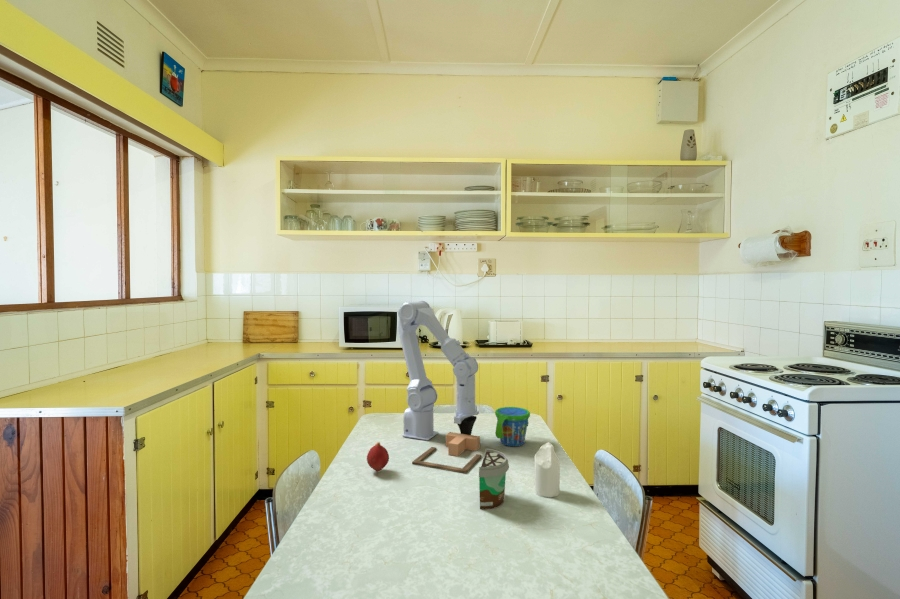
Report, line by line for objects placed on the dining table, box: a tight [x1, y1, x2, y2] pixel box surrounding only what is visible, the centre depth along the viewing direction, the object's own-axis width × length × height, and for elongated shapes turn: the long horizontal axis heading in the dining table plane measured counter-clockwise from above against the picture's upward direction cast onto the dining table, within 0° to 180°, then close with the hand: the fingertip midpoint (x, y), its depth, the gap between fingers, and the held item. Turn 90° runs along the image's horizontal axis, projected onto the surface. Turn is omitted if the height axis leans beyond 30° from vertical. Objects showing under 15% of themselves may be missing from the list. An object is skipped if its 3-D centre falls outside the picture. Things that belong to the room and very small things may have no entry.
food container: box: [478, 448, 510, 510], centre depth 108 cm, size 12×6×10 cm, turn 168°
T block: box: [445, 431, 481, 457], centre depth 139 cm, size 9×10×4 cm
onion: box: [366, 441, 390, 473], centre depth 124 cm, size 6×6×8 cm
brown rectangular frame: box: [411, 446, 483, 475], centre depth 132 cm, size 16×12×1 cm
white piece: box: [534, 441, 561, 498], centre depth 112 cm, size 6×12×6 cm
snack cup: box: [494, 406, 531, 447], centre depth 145 cm, size 16×10×10 cm
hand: (466, 440), depth 145 cm, fingers closed
